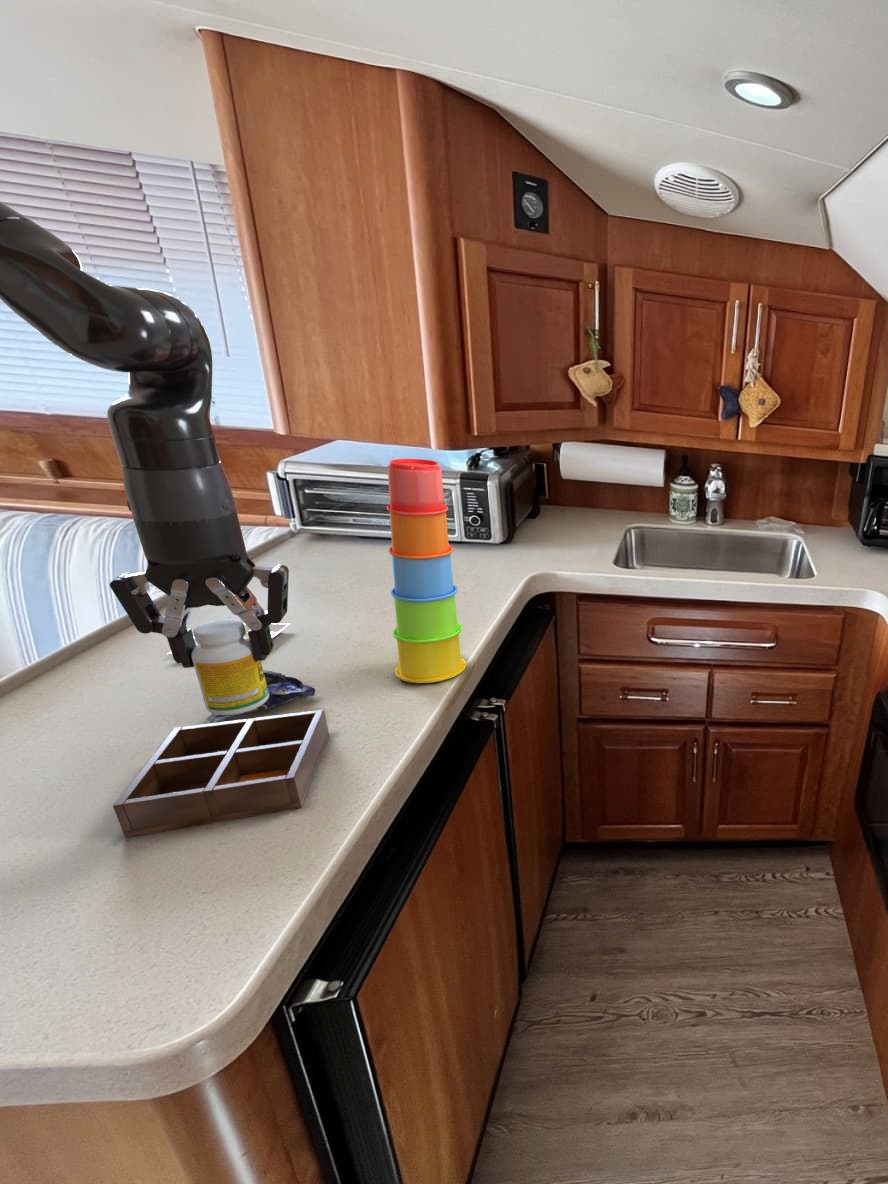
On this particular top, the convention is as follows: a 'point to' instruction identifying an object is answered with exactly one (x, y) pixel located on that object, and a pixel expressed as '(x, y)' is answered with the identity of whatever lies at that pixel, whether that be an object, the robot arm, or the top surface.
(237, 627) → the supplement bottle
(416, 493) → the stacking cups
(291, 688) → the snack package
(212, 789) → the compartment tray
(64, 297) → the robot arm
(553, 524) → the top surface
